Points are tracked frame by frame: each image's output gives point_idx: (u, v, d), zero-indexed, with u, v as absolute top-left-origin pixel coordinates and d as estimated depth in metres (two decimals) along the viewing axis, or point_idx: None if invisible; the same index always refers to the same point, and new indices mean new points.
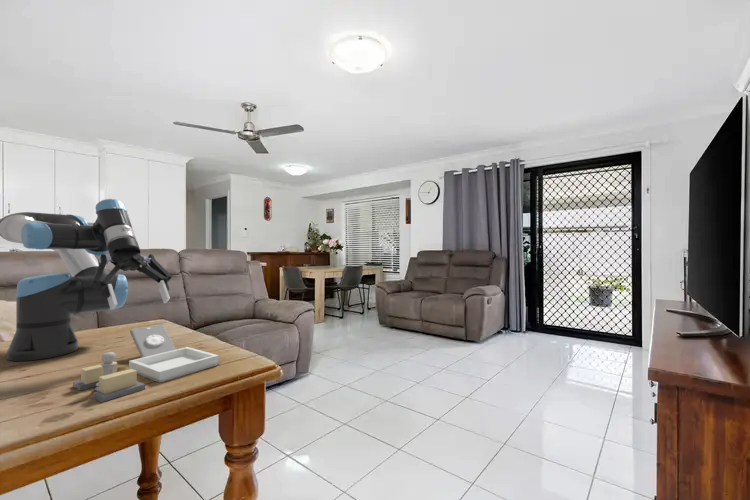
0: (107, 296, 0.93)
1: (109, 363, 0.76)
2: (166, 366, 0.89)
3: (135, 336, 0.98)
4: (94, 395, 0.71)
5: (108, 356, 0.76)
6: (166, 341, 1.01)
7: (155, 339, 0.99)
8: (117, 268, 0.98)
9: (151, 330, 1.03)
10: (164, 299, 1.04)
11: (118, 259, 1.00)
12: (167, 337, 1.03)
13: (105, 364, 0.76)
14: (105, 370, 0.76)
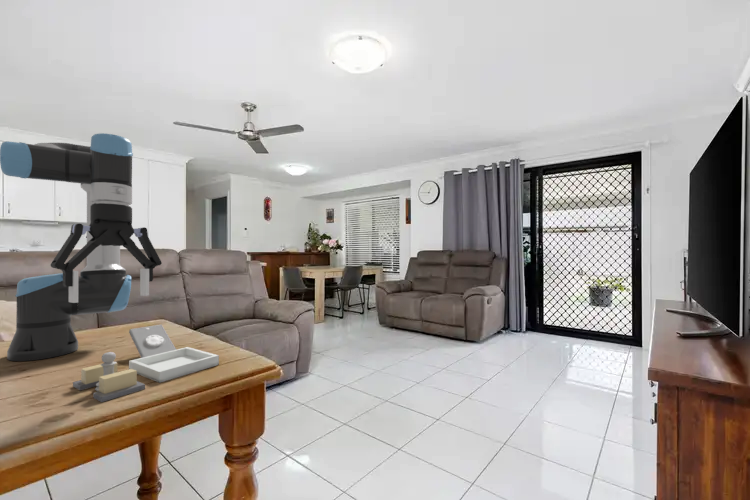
0: None
1: (109, 363, 0.76)
2: (166, 366, 0.89)
3: (134, 336, 0.98)
4: (94, 395, 0.71)
5: (108, 356, 0.76)
6: (165, 341, 1.01)
7: (155, 339, 0.99)
8: (93, 247, 0.74)
9: (150, 330, 1.02)
10: (142, 292, 0.83)
11: (98, 232, 0.75)
12: (166, 337, 1.02)
13: (105, 364, 0.76)
14: (105, 370, 0.76)
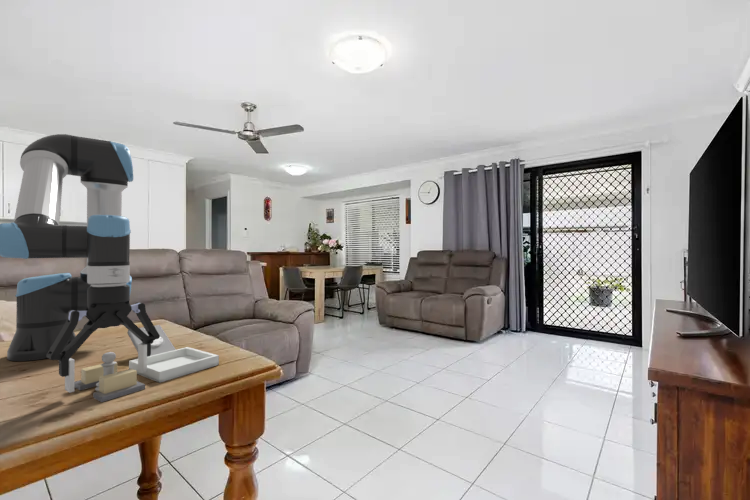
0: None
1: (109, 363, 0.76)
2: (166, 366, 0.89)
3: (133, 337, 0.98)
4: (94, 395, 0.71)
5: (108, 356, 0.76)
6: (164, 342, 1.00)
7: (154, 340, 0.99)
8: (89, 332, 0.73)
9: None
10: (139, 368, 0.82)
11: (95, 317, 0.74)
12: (165, 338, 1.02)
13: (105, 364, 0.76)
14: (105, 370, 0.76)
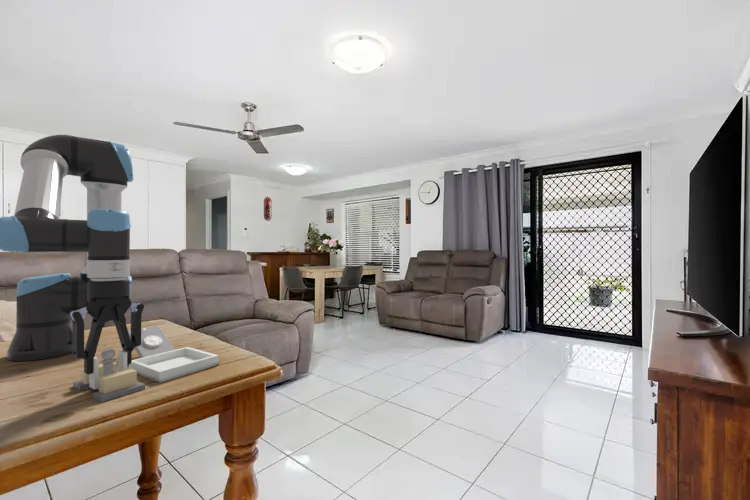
0: None
1: (108, 360, 0.76)
2: (166, 366, 0.89)
3: None
4: (94, 395, 0.71)
5: (107, 353, 0.76)
6: (164, 342, 1.00)
7: (153, 340, 0.98)
8: (100, 328, 0.75)
9: (147, 331, 1.01)
10: None
11: (97, 310, 0.74)
12: (164, 338, 1.02)
13: (104, 361, 0.76)
14: (104, 367, 0.76)
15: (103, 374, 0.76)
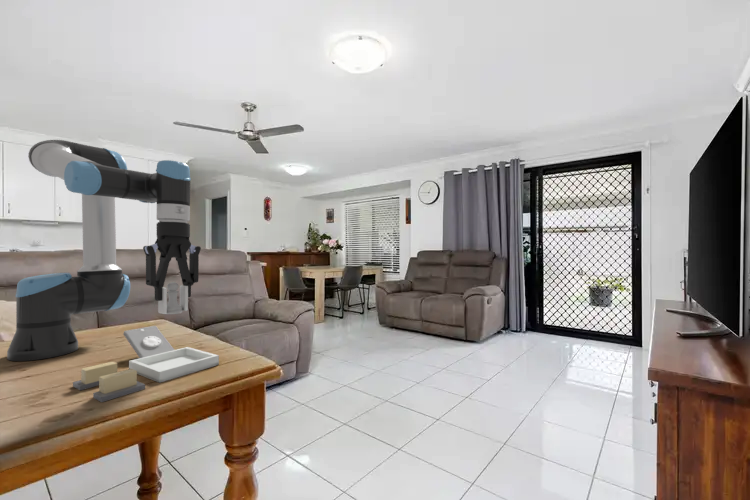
0: None
1: (173, 291, 0.89)
2: (166, 366, 0.89)
3: (130, 338, 0.96)
4: (94, 395, 0.71)
5: (173, 285, 0.89)
6: (162, 342, 1.00)
7: (152, 340, 0.98)
8: (167, 262, 0.87)
9: (145, 332, 1.01)
10: None
11: (165, 246, 0.87)
12: (163, 338, 1.01)
13: (170, 291, 0.89)
14: (170, 297, 0.89)
15: (169, 303, 0.89)
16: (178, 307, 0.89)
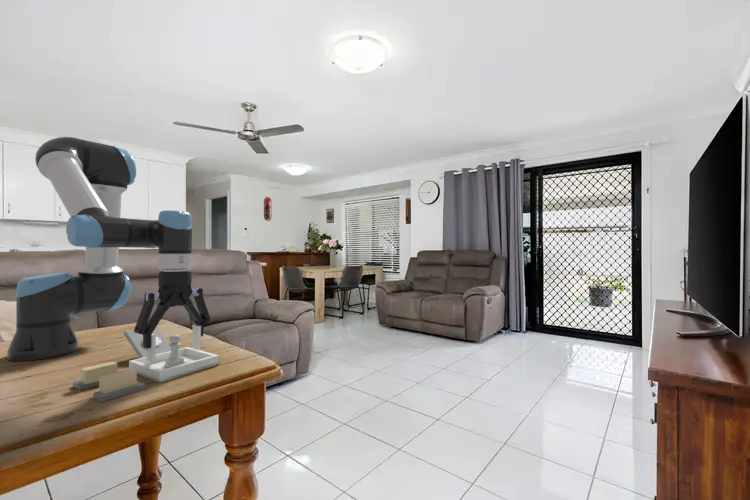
0: None
1: (175, 344, 0.90)
2: None
3: (131, 338, 0.96)
4: (94, 395, 0.71)
5: (175, 338, 0.89)
6: (163, 342, 1.00)
7: None
8: (164, 311, 0.87)
9: None
10: (194, 346, 0.95)
11: (166, 296, 0.87)
12: (163, 338, 1.01)
13: (172, 344, 0.89)
14: (172, 349, 0.89)
15: (171, 356, 0.89)
16: (180, 359, 0.90)
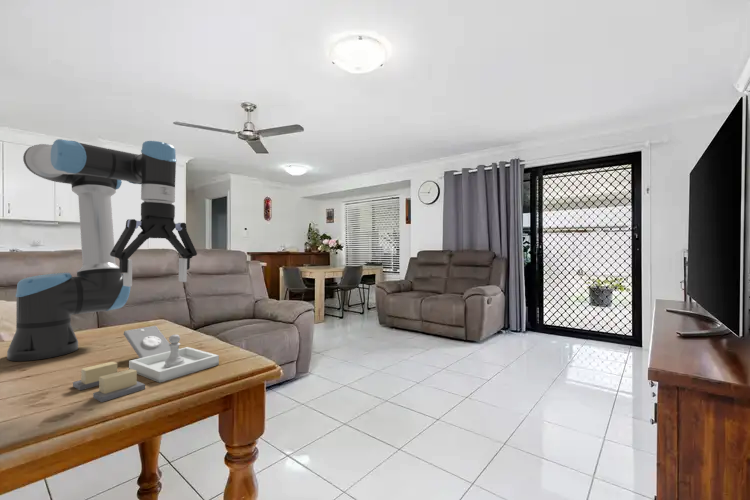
0: None
1: (175, 344, 0.90)
2: None
3: (131, 338, 0.96)
4: (94, 395, 0.71)
5: (174, 338, 0.89)
6: (163, 342, 1.00)
7: (152, 341, 0.98)
8: (144, 239, 0.87)
9: (145, 332, 1.01)
10: (180, 278, 0.96)
11: (148, 227, 0.87)
12: (163, 338, 1.01)
13: (172, 344, 0.89)
14: (172, 349, 0.89)
15: (171, 356, 0.89)
16: (180, 359, 0.90)
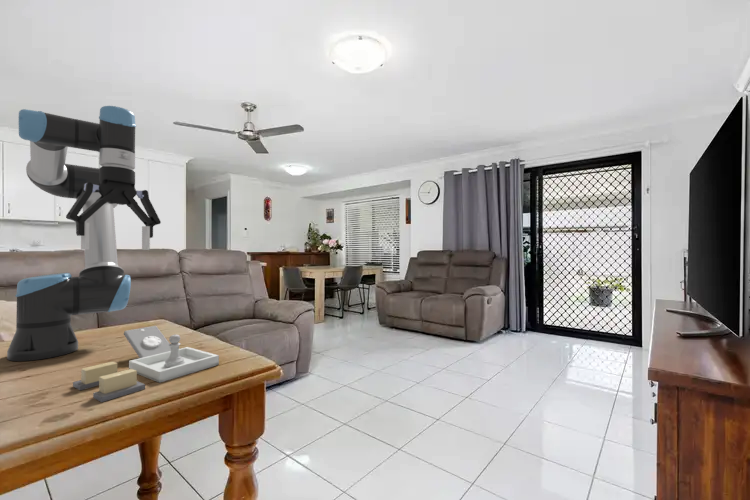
0: (81, 235, 0.84)
1: (175, 344, 0.90)
2: None
3: (131, 338, 0.96)
4: (94, 395, 0.71)
5: (175, 338, 0.89)
6: (163, 342, 1.00)
7: (152, 340, 0.98)
8: (101, 203, 0.86)
9: (146, 332, 1.01)
10: (143, 247, 0.96)
11: (106, 191, 0.87)
12: (163, 338, 1.01)
13: (172, 344, 0.89)
14: (172, 349, 0.89)
15: (171, 356, 0.89)
16: (180, 359, 0.90)
